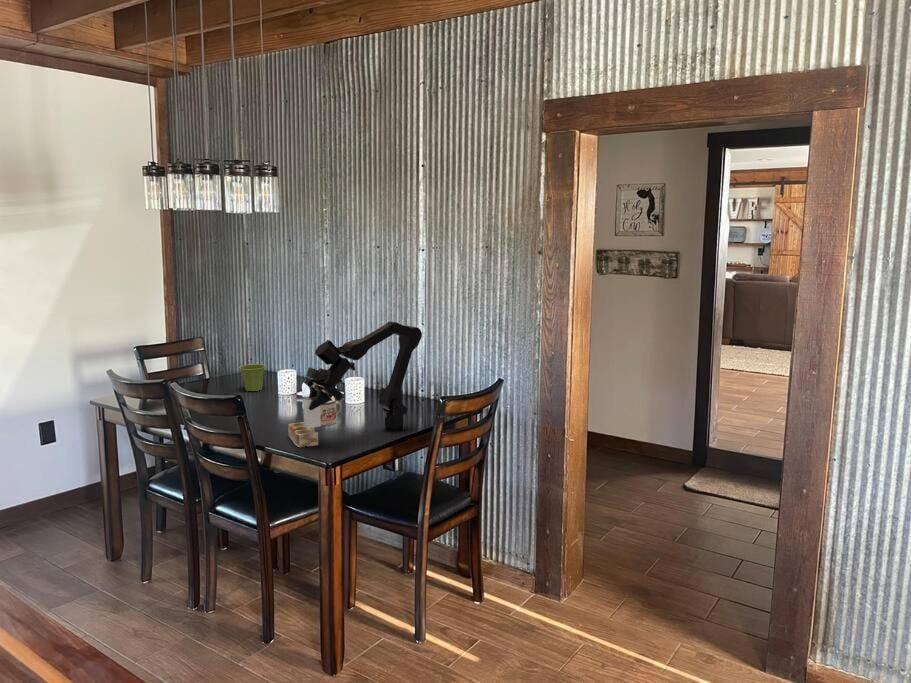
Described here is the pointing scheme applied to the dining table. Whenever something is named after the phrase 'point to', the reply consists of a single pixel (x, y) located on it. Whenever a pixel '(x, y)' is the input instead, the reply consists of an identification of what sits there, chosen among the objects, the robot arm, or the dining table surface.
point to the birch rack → (302, 435)
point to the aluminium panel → (311, 414)
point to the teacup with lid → (329, 412)
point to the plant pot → (252, 376)
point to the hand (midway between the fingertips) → (308, 408)
